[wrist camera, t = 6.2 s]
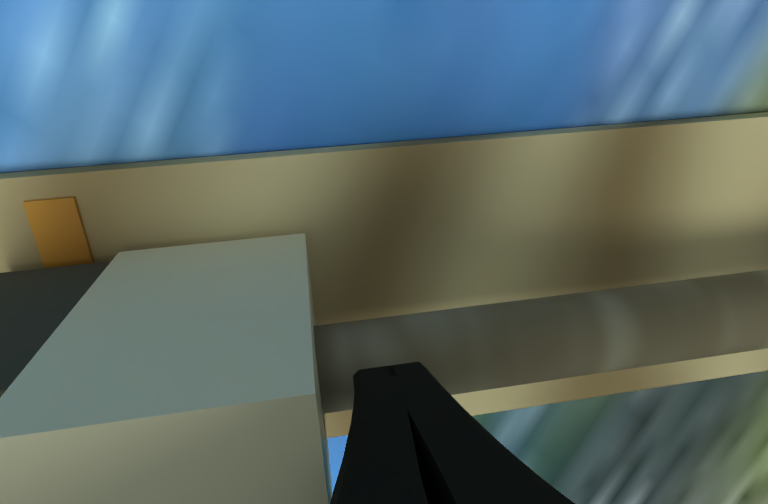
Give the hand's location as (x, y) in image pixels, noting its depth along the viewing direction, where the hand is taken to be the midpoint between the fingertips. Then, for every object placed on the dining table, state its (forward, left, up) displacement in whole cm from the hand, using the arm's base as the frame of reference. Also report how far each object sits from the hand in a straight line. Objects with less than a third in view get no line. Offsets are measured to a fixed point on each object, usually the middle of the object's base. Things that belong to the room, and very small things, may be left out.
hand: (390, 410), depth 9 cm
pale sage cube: (+3, 0, -5) cm, 6 cm away
